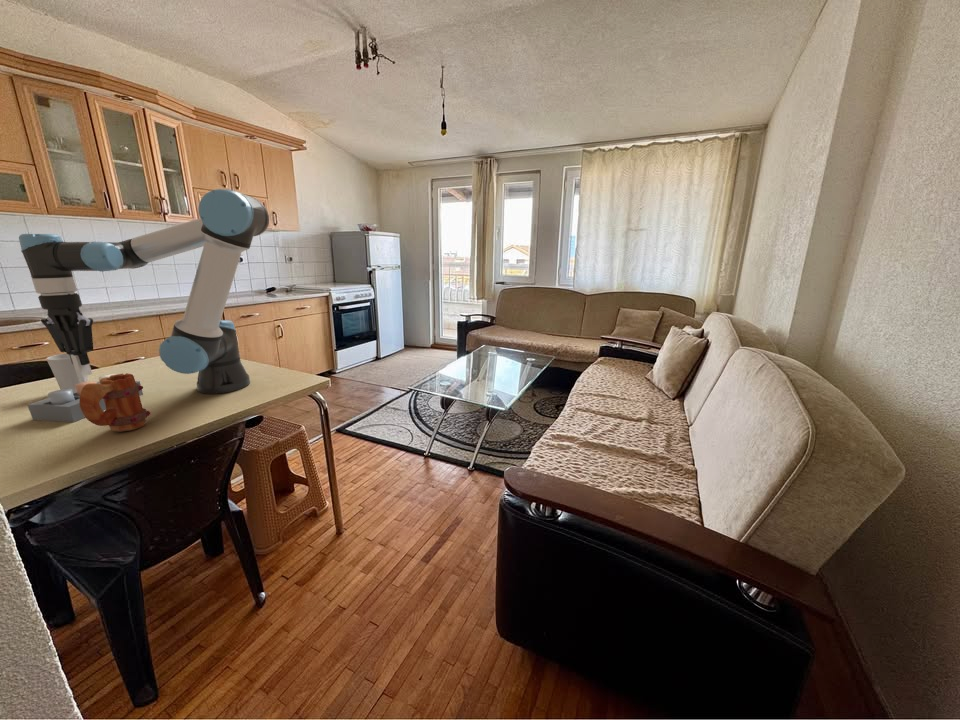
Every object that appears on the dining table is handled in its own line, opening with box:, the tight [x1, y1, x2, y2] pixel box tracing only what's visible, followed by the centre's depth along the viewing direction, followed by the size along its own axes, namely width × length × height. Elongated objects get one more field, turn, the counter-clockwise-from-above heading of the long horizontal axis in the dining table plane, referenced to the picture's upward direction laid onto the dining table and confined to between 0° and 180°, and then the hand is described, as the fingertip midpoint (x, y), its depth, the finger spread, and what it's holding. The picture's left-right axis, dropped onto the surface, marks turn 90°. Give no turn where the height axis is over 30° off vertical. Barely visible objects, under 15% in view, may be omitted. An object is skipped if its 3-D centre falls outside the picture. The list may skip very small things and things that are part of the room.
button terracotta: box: [75, 380, 98, 396], centre depth 109 cm, size 4×4×5 cm
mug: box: [80, 372, 151, 433], centre depth 93 cm, size 15×8×15 cm, turn 5°
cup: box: [45, 352, 89, 390], centre depth 119 cm, size 8×8×12 cm
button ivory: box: [98, 373, 117, 382], centre depth 115 cm, size 4×4×5 cm
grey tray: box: [27, 380, 144, 423], centre depth 109 cm, size 12×20×4 cm, turn 176°
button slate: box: [47, 389, 75, 405], centre depth 102 cm, size 4×4×5 cm
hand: (85, 375), depth 107 cm, fingers closed
